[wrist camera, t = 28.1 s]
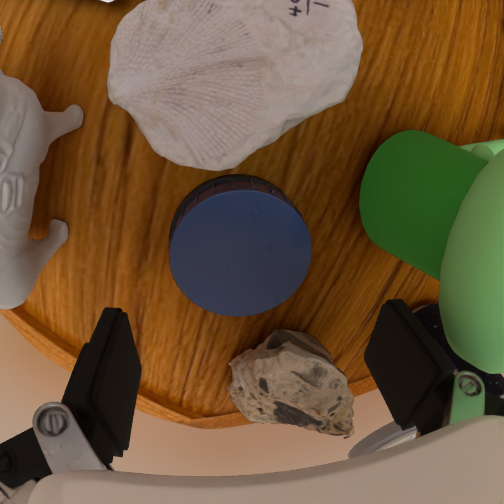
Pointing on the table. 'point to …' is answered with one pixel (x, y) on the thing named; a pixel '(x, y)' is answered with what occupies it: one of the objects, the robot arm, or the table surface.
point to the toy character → (445, 231)
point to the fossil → (230, 72)
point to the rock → (292, 385)
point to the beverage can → (434, 326)
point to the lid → (239, 248)
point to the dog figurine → (25, 185)
